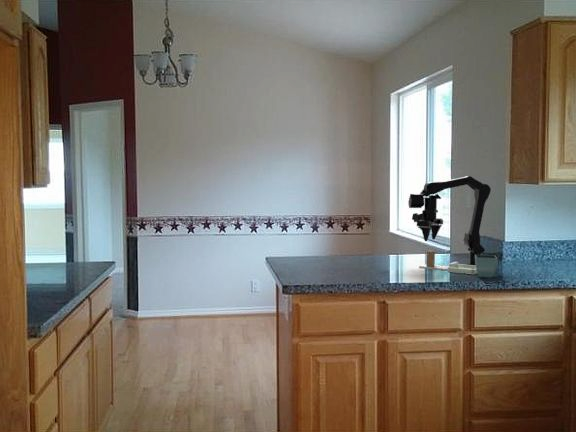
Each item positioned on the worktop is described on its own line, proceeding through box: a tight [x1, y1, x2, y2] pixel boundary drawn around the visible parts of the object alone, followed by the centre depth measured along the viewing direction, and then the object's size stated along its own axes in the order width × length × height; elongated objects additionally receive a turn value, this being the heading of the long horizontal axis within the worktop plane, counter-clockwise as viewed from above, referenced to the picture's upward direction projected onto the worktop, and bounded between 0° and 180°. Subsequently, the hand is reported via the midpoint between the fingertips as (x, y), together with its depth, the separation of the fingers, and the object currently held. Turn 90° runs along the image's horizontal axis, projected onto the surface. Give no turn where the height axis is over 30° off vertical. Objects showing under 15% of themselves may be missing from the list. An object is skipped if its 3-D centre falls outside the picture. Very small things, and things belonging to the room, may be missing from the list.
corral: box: [447, 263, 478, 275], centre depth 288 cm, size 13×12×2 cm
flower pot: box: [475, 254, 499, 279], centre depth 273 cm, size 9×9×9 cm
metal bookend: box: [418, 250, 459, 272], centre depth 295 cm, size 16×8×8 cm, turn 55°
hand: (429, 240), depth 305 cm, fingers open, 9 cm apart
